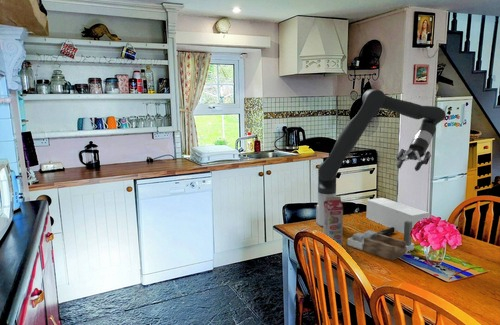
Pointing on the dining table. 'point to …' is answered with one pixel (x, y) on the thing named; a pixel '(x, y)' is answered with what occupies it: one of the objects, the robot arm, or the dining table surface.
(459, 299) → the dining table surface
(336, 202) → the juice carton
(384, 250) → the wooden box
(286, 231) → the dining table surface
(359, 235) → the steel block
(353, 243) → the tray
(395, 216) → the long white block
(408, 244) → the scraper
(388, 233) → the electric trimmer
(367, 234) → the steel block
